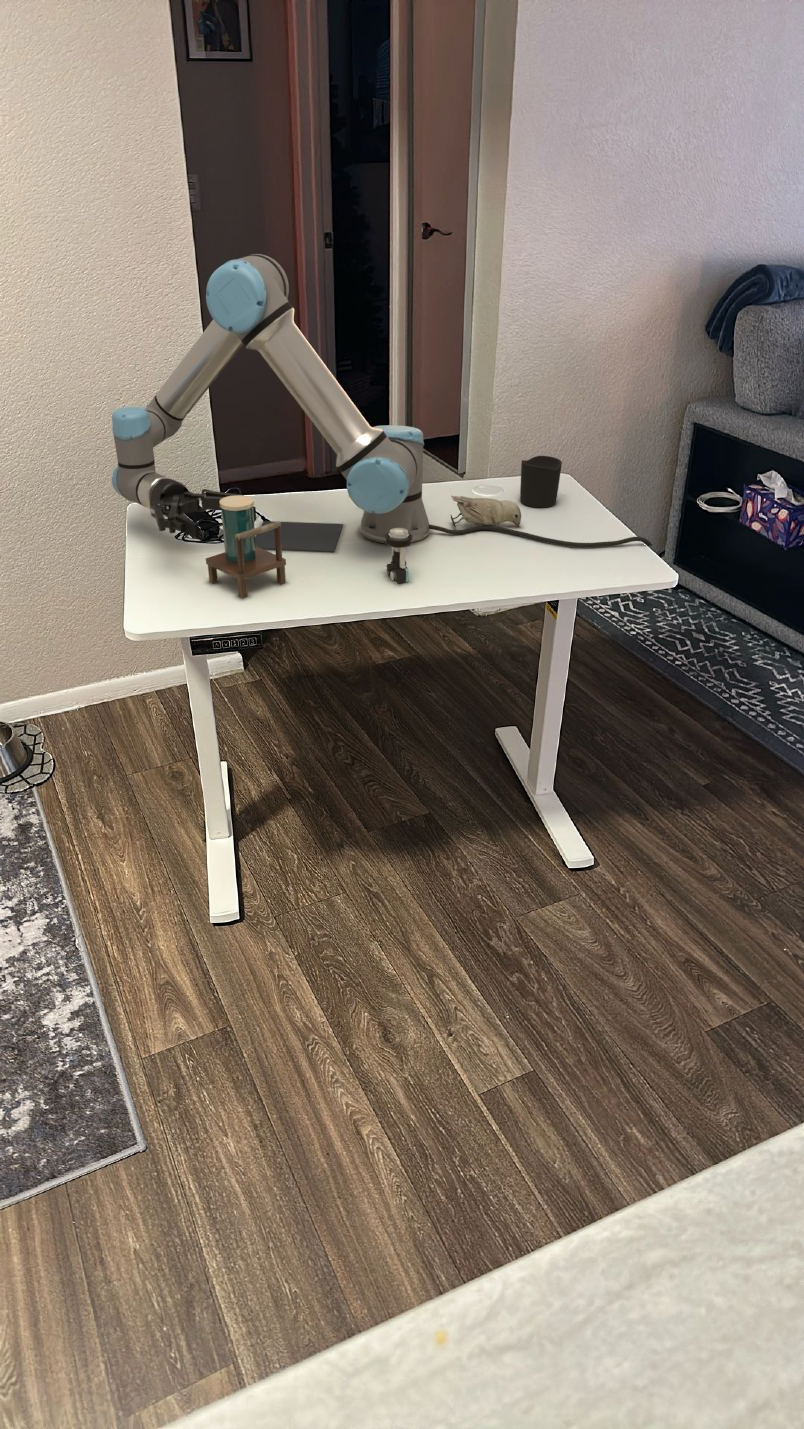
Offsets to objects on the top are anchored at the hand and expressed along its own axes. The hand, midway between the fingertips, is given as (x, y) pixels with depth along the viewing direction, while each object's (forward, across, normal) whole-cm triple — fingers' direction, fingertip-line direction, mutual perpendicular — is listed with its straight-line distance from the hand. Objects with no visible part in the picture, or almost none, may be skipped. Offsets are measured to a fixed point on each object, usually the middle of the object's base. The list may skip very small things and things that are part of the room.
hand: (226, 522), depth 184 cm
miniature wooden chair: (+5, 0, -11) cm, 12 cm away
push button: (+24, -23, -11) cm, 35 cm away
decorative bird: (+18, -57, -11) cm, 61 cm away
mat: (-7, -23, -11) cm, 26 cm away
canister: (+4, 0, -6) cm, 7 cm away
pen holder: (+16, -79, -11) cm, 82 cm away
